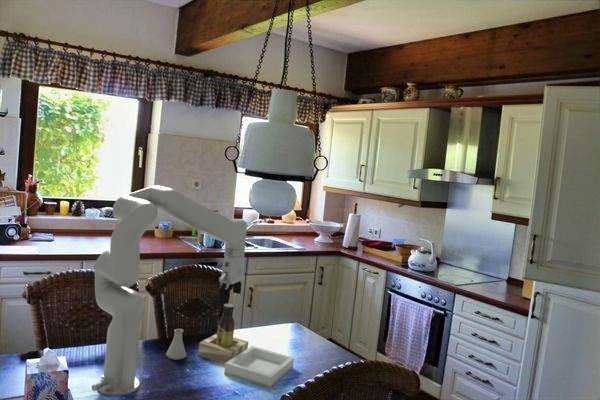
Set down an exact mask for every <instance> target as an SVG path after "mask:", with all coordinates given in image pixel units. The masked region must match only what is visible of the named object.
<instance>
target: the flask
mask: <svg viewBox="0 0 600 400" xmlns="http://www.w3.org/2000/svg"><path fill="white" fill-rule="evenodd" d="M173 332H174V334H173V335H174V336H173V339H172V341H171V344H170V345H169V348H168V349H167V352H166V353H165V356H166V357H167V358H168V359H171V360H183V359H185V358H186V357H187V356H188V355H187V351H186V349H185V345H184V342H183V341H184V340H183V333H184V329H182V328H176V329H174V330H173Z"/></svg>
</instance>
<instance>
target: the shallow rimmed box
mask: <svg viewBox="0 0 600 400" xmlns="http://www.w3.org/2000/svg"><path fill="white" fill-rule="evenodd" d="M216 339H217V333H215V334H213V335H211V336H210V337H208V338H205V339H203V340H202V341H200V342H199V344H198V352H197V353H198V354H197V356H199V357H202V358H205V359H209V360H212V361H215V362H219V363H221V364H225V363H226V362H228V361H229V360H231V359H232V358H234V357H236V356H237V355H239V354H240V353H242V352H243V351H245V350H246V349H248V348H249V341H248V340H245V339H240V338H237V337H234V336H233V342H232V347H231V348H226V347H223V346H220V345H216Z"/></svg>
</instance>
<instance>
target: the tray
mask: <svg viewBox="0 0 600 400" xmlns="http://www.w3.org/2000/svg"><path fill="white" fill-rule="evenodd" d="M294 363H295V357H292V356H289V355H286V354H282V353H279V352H275V351H272V350H269V349H264V348H261V347H257V346H254V345H251V346H250V347H249V346H248V349H246V350H245V351H243V352H242V353H240V354H239V355H237V356H236V357H234V358H232V359H231V360H229V361H228V362H226V363H225V365H224V375H227V376H229V377H232V378H235V379H239V380H242V381H245V382H248V383H252V384H255V385H258V386H261V387H264V388H267V389H271V388H272V387H274V386H275V385H276V384H277V383H278V382H279V381H281V379H282V378H284V377H285V376H286V375H287V374H289V373H290V371H291V370H293V369H294Z"/></svg>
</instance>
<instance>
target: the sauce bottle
mask: <svg viewBox="0 0 600 400" xmlns="http://www.w3.org/2000/svg"><path fill="white" fill-rule="evenodd" d="M234 310H235V305H234V304H233V303H224V304H223V309H222V315H221V318H220V319H219V322H218V323H217V331H216V334H217V339H216V345H220V346H223V347H226V348H231V347H232V342H233V337H234V332H235V319H234V317H233V316H234V315H233V314H234Z"/></svg>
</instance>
